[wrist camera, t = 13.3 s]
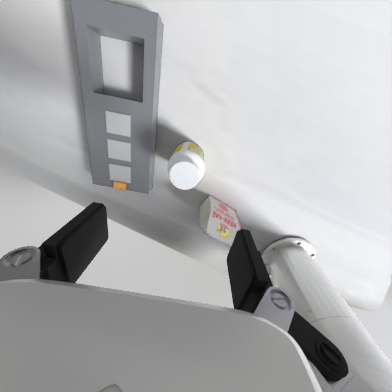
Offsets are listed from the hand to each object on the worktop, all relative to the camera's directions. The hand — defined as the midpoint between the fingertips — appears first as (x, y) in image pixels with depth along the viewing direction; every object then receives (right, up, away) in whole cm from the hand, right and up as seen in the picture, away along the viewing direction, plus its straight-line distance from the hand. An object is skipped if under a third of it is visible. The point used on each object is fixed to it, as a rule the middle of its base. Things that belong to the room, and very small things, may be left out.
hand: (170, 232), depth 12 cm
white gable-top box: (+6, 0, +23) cm, 24 cm away
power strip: (-10, +16, +15) cm, 24 cm away
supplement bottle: (+1, +10, +18) cm, 21 cm away
